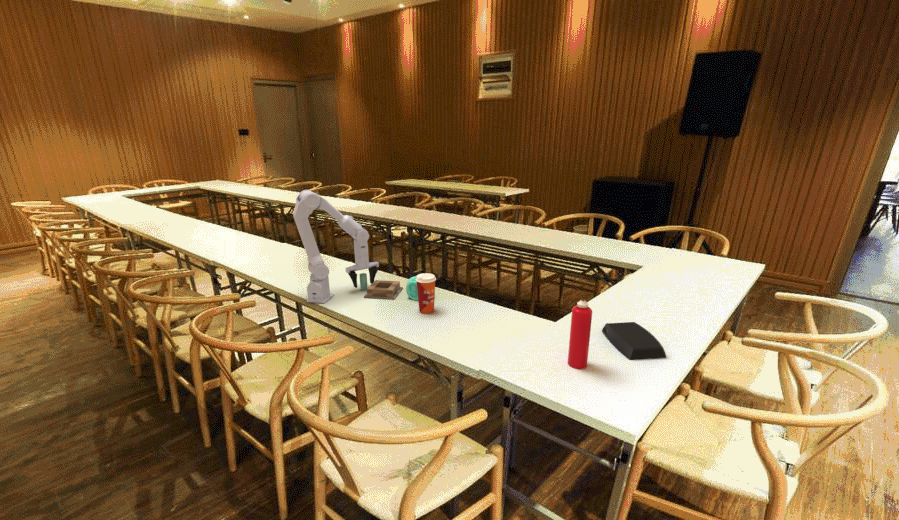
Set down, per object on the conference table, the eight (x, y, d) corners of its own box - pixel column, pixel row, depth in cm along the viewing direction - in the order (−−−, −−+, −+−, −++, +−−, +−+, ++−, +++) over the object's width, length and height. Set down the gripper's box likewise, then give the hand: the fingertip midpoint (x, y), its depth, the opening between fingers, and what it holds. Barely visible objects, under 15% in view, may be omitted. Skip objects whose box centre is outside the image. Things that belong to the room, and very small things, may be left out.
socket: (394, 299, 170) (393, 291, 169) (363, 298, 173) (363, 289, 171) (402, 288, 183) (402, 280, 182) (374, 286, 185) (374, 279, 184)
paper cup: (427, 316, 155) (426, 280, 151) (412, 311, 159) (411, 276, 155) (441, 309, 161) (440, 275, 156) (425, 304, 165) (424, 271, 161)
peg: (366, 290, 180) (365, 275, 178) (359, 290, 181) (358, 275, 179) (368, 288, 183) (367, 273, 181) (362, 288, 184) (361, 272, 182)
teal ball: (432, 295, 175) (432, 277, 173) (423, 302, 168) (422, 283, 166) (415, 292, 178) (415, 274, 176) (406, 299, 171) (405, 280, 169)
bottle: (565, 365, 121) (570, 301, 116) (571, 357, 126) (576, 295, 120) (583, 371, 119) (590, 305, 113) (589, 362, 123) (595, 299, 117)
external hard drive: (636, 330, 144) (637, 319, 142) (668, 359, 125) (670, 347, 124) (599, 332, 143) (600, 321, 141) (626, 361, 124) (628, 349, 123)
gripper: (373, 250, 185) (375, 279, 189) (341, 256, 177) (344, 286, 181) (380, 253, 179) (382, 283, 183) (348, 259, 171) (350, 290, 175)
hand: (363, 285), depth 181 cm, fingers open, 7 cm apart
